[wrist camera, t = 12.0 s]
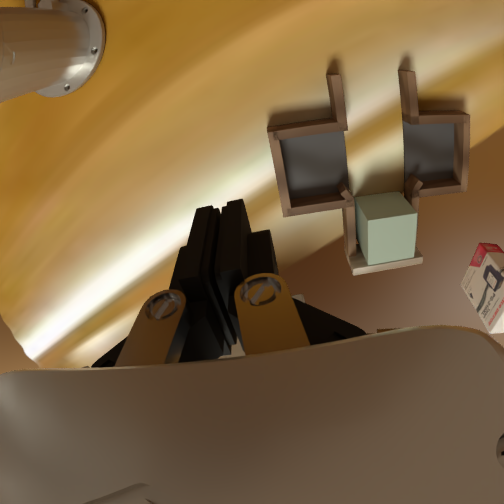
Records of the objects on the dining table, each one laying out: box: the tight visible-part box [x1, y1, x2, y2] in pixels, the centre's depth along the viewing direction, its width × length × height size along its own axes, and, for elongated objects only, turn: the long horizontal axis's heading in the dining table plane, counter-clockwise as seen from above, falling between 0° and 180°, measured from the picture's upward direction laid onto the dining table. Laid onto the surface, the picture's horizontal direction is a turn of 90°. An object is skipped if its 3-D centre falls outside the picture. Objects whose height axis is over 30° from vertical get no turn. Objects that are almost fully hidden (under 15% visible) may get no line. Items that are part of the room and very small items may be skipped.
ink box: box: [461, 243, 504, 334], centre depth 38 cm, size 8×5×12 cm, turn 177°
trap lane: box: [267, 70, 470, 275], centre depth 33 cm, size 23×24×5 cm
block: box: [354, 191, 417, 265], centre depth 36 cm, size 6×6×6 cm
